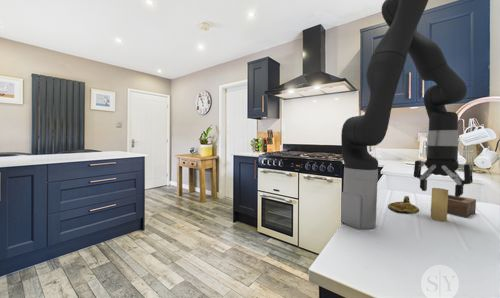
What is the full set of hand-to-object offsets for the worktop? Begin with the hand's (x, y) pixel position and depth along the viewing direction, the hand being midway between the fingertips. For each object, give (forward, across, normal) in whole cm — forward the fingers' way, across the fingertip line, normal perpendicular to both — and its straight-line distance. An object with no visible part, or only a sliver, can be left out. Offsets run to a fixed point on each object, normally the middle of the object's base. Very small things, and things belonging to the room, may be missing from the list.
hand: (440, 193), depth 69 cm
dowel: (+9, 0, 0) cm, 9 cm away
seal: (+9, -11, +1) cm, 14 cm away
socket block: (+9, 0, +14) cm, 17 cm away
